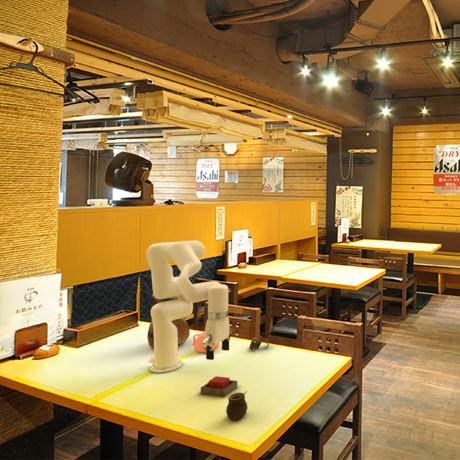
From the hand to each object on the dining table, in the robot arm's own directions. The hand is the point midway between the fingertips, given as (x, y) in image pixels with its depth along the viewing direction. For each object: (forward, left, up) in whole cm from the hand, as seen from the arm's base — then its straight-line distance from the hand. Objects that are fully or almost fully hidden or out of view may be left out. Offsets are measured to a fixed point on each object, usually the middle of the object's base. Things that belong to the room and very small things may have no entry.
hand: (218, 354), depth 153 cm
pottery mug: (-8, +45, -15) cm, 48 cm away
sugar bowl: (-35, +38, -15) cm, 54 cm away
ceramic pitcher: (-59, +40, -15) cm, 73 cm away
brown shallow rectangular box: (+1, 0, -15) cm, 15 cm away
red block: (+1, 0, -14) cm, 14 cm away
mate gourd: (+20, -16, -15) cm, 30 cm away
